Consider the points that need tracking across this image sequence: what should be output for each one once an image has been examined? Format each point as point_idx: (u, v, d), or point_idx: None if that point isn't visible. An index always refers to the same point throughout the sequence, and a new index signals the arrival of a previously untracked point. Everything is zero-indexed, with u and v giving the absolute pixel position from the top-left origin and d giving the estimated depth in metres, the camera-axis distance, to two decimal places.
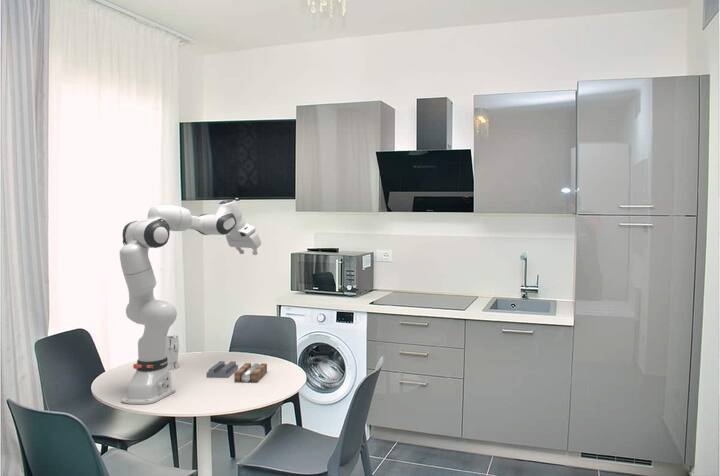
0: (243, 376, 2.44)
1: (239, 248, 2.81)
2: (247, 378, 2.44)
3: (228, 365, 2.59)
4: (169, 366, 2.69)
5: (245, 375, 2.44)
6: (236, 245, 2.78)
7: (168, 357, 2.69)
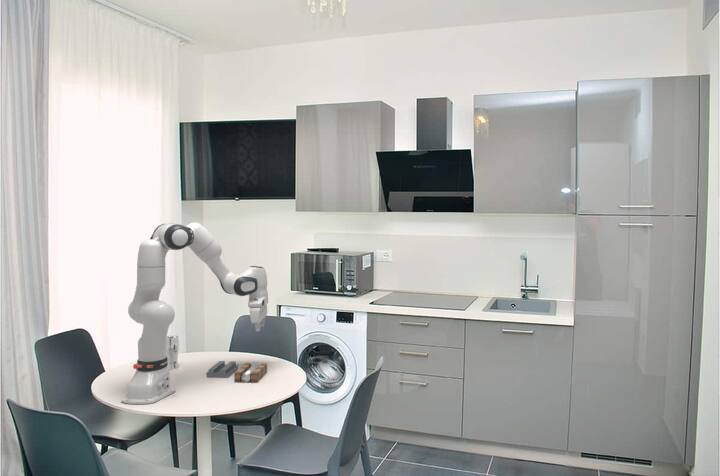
0: (243, 376, 2.44)
1: (262, 320, 2.71)
2: (247, 378, 2.44)
3: (228, 365, 2.59)
4: (169, 366, 2.69)
5: (245, 375, 2.44)
6: None
7: (168, 357, 2.69)
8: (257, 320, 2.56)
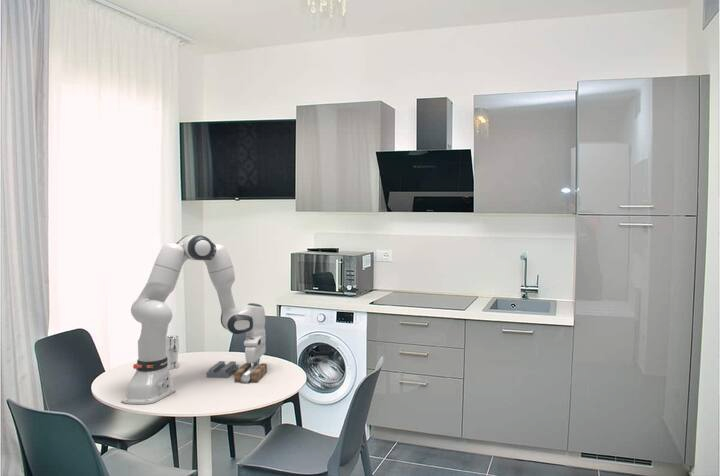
0: (242, 377, 2.43)
1: (257, 360, 2.62)
2: (246, 379, 2.43)
3: (228, 365, 2.59)
4: (169, 366, 2.69)
5: (244, 376, 2.43)
6: None
7: (168, 357, 2.69)
8: (252, 360, 2.50)
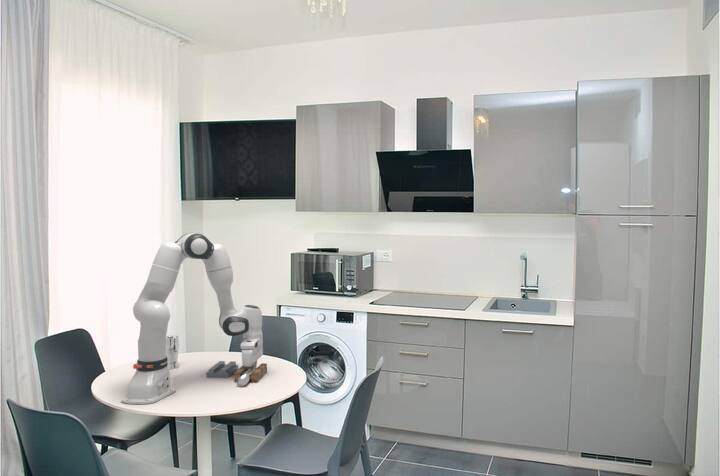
0: (238, 380, 2.38)
1: (254, 363, 2.57)
2: (242, 383, 2.38)
3: (228, 365, 2.59)
4: (169, 366, 2.69)
5: (240, 379, 2.38)
6: None
7: (168, 357, 2.69)
8: (249, 363, 2.45)
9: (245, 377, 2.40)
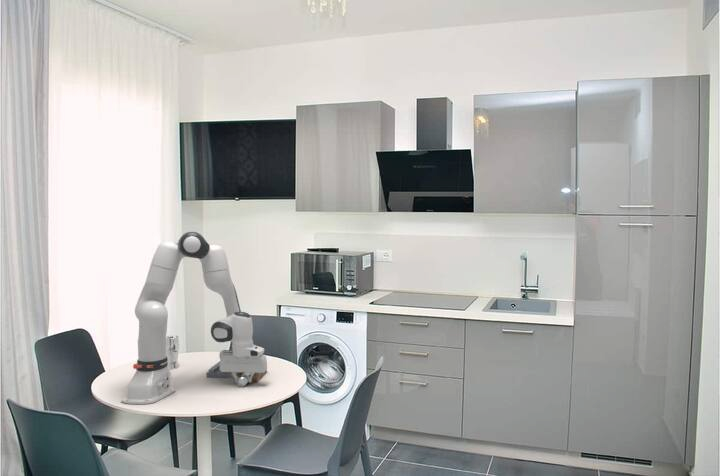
0: (238, 381, 2.38)
1: (235, 375, 2.42)
2: (242, 383, 2.38)
3: None
4: (169, 366, 2.69)
5: (241, 380, 2.38)
6: (232, 369, 2.40)
7: (168, 357, 2.69)
8: (266, 367, 2.41)
9: (245, 377, 2.40)
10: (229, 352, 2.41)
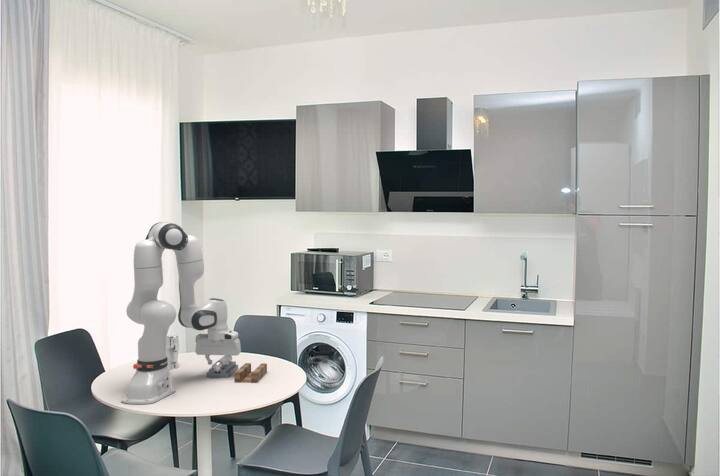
0: (214, 366, 2.50)
1: (208, 357, 2.54)
2: (217, 368, 2.50)
3: (228, 365, 2.59)
4: (169, 366, 2.69)
5: (216, 365, 2.50)
6: (207, 352, 2.52)
7: (168, 357, 2.69)
8: (240, 350, 2.53)
9: (220, 363, 2.52)
10: (205, 336, 2.53)
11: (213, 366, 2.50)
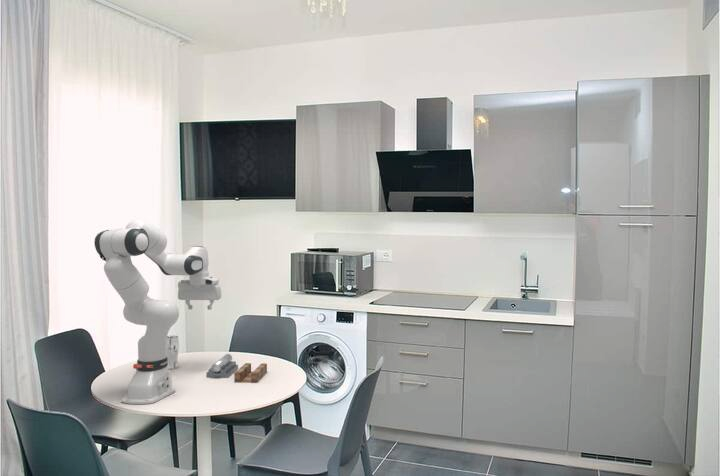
0: (214, 366, 2.50)
1: (188, 303, 2.66)
2: (217, 368, 2.50)
3: (228, 365, 2.59)
4: (169, 366, 2.69)
5: (216, 365, 2.50)
6: (189, 297, 2.64)
7: (168, 357, 2.69)
8: None
9: (220, 363, 2.52)
10: (187, 282, 2.65)
11: (213, 366, 2.50)
